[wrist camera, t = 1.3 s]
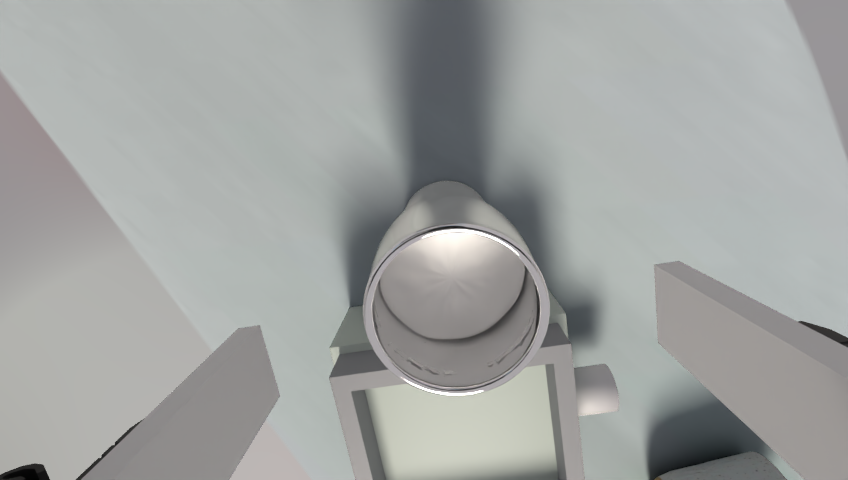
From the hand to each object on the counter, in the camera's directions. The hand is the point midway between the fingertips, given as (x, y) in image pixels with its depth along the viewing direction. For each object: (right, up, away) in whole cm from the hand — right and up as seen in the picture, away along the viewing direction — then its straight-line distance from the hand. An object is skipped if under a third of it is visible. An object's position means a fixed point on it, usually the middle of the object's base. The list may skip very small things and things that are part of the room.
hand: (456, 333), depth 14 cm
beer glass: (0, +4, +15) cm, 16 cm away
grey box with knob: (+3, -7, +18) cm, 20 cm away
